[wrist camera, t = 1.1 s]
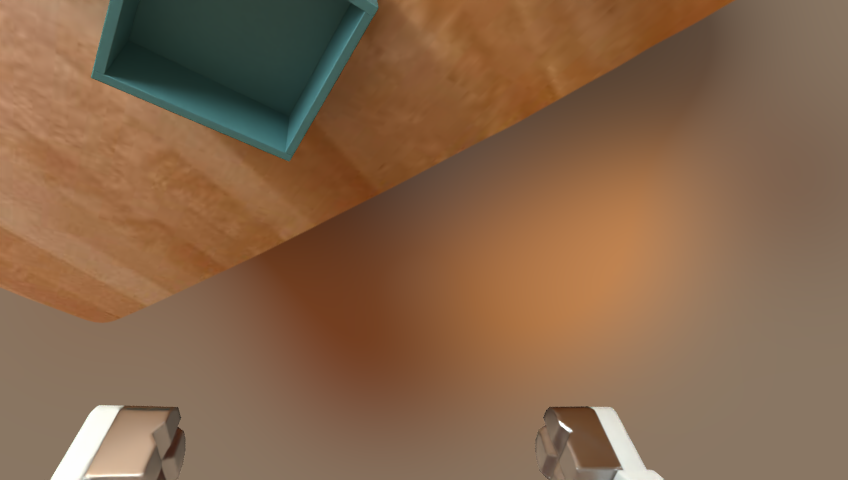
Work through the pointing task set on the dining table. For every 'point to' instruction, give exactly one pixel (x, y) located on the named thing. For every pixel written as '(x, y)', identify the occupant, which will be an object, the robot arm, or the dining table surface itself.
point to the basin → (233, 61)
